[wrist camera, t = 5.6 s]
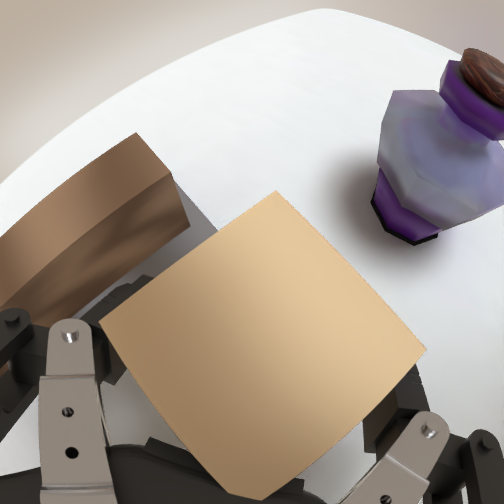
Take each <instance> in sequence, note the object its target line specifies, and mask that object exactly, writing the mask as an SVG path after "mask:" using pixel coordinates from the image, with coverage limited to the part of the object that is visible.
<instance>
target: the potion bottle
mask: <svg viewBox="0 0 504 504" xmlns="http://www.w3.org/2000/svg"><path fill="white" fill-rule="evenodd" d="M498 140H504V64H503V63H502V62H500V61H499V60H498V59H496V58H494V57H492V56H490V55H489V54H487V53H485V52H482V51H480V50H478V49H473V48H468V49H465V50H464V53H463V56H462V59H461V61H454V60H449V61H448V63H447V65H446V68H445V70H444V72H443V74H442V77H441V79H440V89H439V93H438V92H437V91H435V90H395V91H393V93H392V96H391V99H390V102H389V104H388V107H387V110H386V112H385V115H384V118H383V121H382V125H381V134H380V142H379V150H378V157H377V163H378V165H379V166H380V168H379V174H378V180H377V186H376V189H375V191H374V194H373V197H372V199H371V204H372V206H373V208H374V210H375V212H376V214H377V216H378V218H379V220H380V222H381V224H382V226H383V228H384V230H385V231H386V232H388V233H390V234H392V235H394V236H396V237H398V238H400V239H402V240H404V241H406V242H407V243H409V244H411V245H413V246H415V245H418V244H421V243H423V242H426V241H429V240H432V239H435V238H437V237H438V233H439V232H441V231H444V230H447V229H449V228H452V227H455V226H457V225H460V224H463V223H466V222H469V221H472V220H474V219H476V218H478V217H480V216H482V215H484V214H486V213H488V212H490V211H492V210H494V209H496V208H498V207H500V206H502V205H504V149H503V147H502V146H501V144H500V143H499V142H498Z"/></svg>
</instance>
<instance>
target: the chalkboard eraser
mask: <svg viewBox="0 0 504 504" xmlns="http://www.w3.org/2000/svg"><path fill="white" fill-rule="evenodd" d="M217 232H218V230H217V229H216V228H215V227H214V226H213V225H212V224H211V222H210V221H209V220H208V219H207V218H206V217H205V216H204V214H203V213H202V212H201V211H200V210H199V209H198V207H197V206H196V205H195V204H194V203H193V202H192V201H191V199H190V198H189V197H188V196H187V195H186V194H185V192H184V191H183V190H182V189H181V188H180V187H179V186H178V184H177V183H176V182H175V181H174V179H173V177H172V174H171V172H170V170H169V169H168V168H167V167H166V166H165V165H164V164H163V162H162V161H161V160H160V159H159V158H158V157H157V156H156V154H155V153H154V152H153V151H152V150H151V149H150V147H149V146H148V145H147V144H146V143H145V142H144V141H143V139H142V138H141V137H140V136H139V135H138V134H137V133H134V134H132V135H131V136H129V137H128V138H126V139H125V140H123V141H122V142H120V143H118V144H117V145H115V146H114V147H112V148H111V149H109V150H108V151H106V152H105V153H104V154H102V155H101V156H99V157H98V158H96V159H95V160H94V161H92V162H91V163H89V164H88V165H87V166H85V167H84V168H82V169H81V170H80V171H78V172H77V173H76V174H74V175H73V176H72V177H70V178H69V179H68V180H66V181H65V182H64V183H63V184H61V185H60V186H59V187H57V188H56V189H55V190H54V191H52V192H51V193H50V194H49V195H48V196H46V197H45V198H44V199H43V200H42V201H40V202H39V203H38V204H37V205H36V206H34V207H33V208H32V209H31V210H30V211H29V212H28V213H26V214H25V215H24V216H23V217H22V218H21V219H20V220H19V221H17V222H16V223H15V224H14V225H13V226H12V227H11V228H10V229H9V230H8V231H7V232H6V233H5V234H4V235H2V236H1V237H0V312H2V311H4V310H6V309H10V308H21V309H24V310H26V311H27V312H28V313H29V314H30V316H31V321H32V324H35V325H39V326H44V327H49V328H51V327H52V325H54V324H55V323H56V322H58V321H60V320H63V319H70V318H73V319H79V318H80V317H82V316H83V315H84V314H85V313H86V312H87V311H88V310H90V309H91V308H92V307H93V306H94V305H95V304H97V303H98V302H99V301H100V302H101V299H103V298H104V297H105V296H107V295H108V293H110V292H111V291H112V290H113V289H114V288H116V287H118V286H121V285H123V284H126V283H130V284H132V283H133V282H134V281H135V280H137V279H138V278H139V277H140V276H141V275H143V274H145V275H148V276H151V277H154V278H156V277H157V276H158V275H160V274H161V273H162V272H164V271H165V270H166V269H168V268H169V267H170V266H172V265H173V264H174V263H176V262H177V261H178V260H180V259H181V258H182V257H184V256H185V255H186V254H188V253H189V252H191V251H192V250H193V249H195V248H196V247H197V246H199V245H200V244H201V243H203V242H204V241H206V240H207V239H208V238H210V237H211V236H212V235H214V234H215V233H217ZM8 369H9V367H8V364H7V363H6V364H5V365H4V366H3V367H2V368H1V369H0V378H1V377H2V376H3V375H4V373H5V372H6V371H7V370H8Z"/></svg>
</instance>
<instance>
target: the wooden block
mask: <svg viewBox="0 0 504 504" xmlns="http://www.w3.org/2000/svg"><path fill="white" fill-rule="evenodd" d="M99 323H100V325H101V327H102V328H103V330H104V332H105V333H106V335H107V337H108V338H109V340H110V342H111V343H112V345H113V347H114V348H115V350H116V352H117V353H118V355H119V356H120V358H121V359H122V361H123V363H124V364H125V366H126V367H127V369H128V370H129V372H130V373H131V375H132V376H133V378H134V379H135V381H136V382H137V383H138V385H139V386H140V388H141V389H142V391H143V392H144V393H145V395H146V396H147V398H148V399H149V400H150V402H151V403H152V404H153V406H154V407H155V408H156V410H157V411H158V412H159V414H160V415H161V416H162V418H163V419H164V420H165V422H166V423H167V424H168V425H169V427H170V428H171V429H172V430H173V432H174V433H175V434H176V435H177V437H178V438H179V439H180V440H181V442H182V443H183V444H184V445H185V446H186V447H187V449H188V450H189V451H190V452H191V453H192V454H193V456H194V457H195V458H196V459H197V460H198V461H199V462H200V464H201V465H202V466H203V467H204V468H205V469H206V470H207V471H208V472H209V473H210V474H211V476H212V477H213V478H214V479H215V480H216V481H217V482H218V483H219V484H220V485H221V486H222V487H223V488H224V489H225V490H226V491H227V492H228V493H230V494H234V495H238V496H242V497H247V498H251V499H256V500H260V501H262V500H263V499H265V498H266V497H268V496H269V495H271V494H272V493H274V492H275V491H276V490H278V489H279V488H281V487H282V486H283V485H285V484H286V483H288V482H289V481H290V480H292V479H293V478H294V477H296V476H297V475H298V474H300V473H301V472H302V471H304V470H305V469H306V468H307V467H309V466H310V465H311V464H313V463H314V462H315V461H316V460H317V459H319V458H320V457H321V456H322V455H324V454H325V453H326V452H327V451H328V450H329V449H331V448H332V447H333V446H334V445H335V444H336V443H338V442H339V441H340V440H341V439H342V438H343V437H344V436H345V435H347V434H348V433H349V432H350V431H351V430H352V429H353V428H354V427H355V426H356V425H357V424H358V423H359V422H360V421H362V420H363V419H364V418H365V417H366V416H367V415H368V414H369V413H370V412H371V411H372V410H373V409H374V408H375V407H376V406H377V405H378V404H379V403H380V402H381V401H382V400H383V399H384V397H385V396H386V395H387V394H388V393H389V392H390V391H391V390H392V389H393V388H394V387H395V386H396V385H397V383H398V382H399V381H400V380H401V379H402V378H403V377H404V376H405V374H406V373H407V372H408V371H409V370H410V369H411V368H412V366H413V365H414V364H415V363H416V362H417V360H418V359H419V358H420V357H421V356H422V354H423V353H424V352H425V351H426V348H425V347H424V346H423V345H422V343H421V342H420V341H419V340H418V339H417V338H416V336H415V335H414V334H413V333H412V332H411V331H410V330H409V328H408V327H407V326H406V325H405V324H404V323H403V322H402V320H401V319H400V318H399V317H398V316H397V315H396V314H395V313H394V311H393V310H392V309H391V308H390V307H389V306H388V305H387V304H386V303H385V302H384V300H383V299H382V298H381V297H380V296H379V295H378V294H377V293H376V292H375V291H374V289H373V288H372V287H371V286H370V285H369V284H368V283H367V282H366V281H365V280H364V279H363V278H362V277H361V276H360V274H359V273H358V272H357V271H356V270H355V269H354V268H353V267H352V266H351V265H350V264H349V263H348V262H347V261H346V260H345V259H344V258H343V257H342V256H341V255H340V253H339V252H338V251H337V250H336V249H335V248H334V247H333V246H332V245H331V244H330V243H329V242H328V241H327V240H326V239H325V238H324V237H323V236H322V235H321V234H320V233H319V232H318V231H317V230H316V229H315V228H314V227H313V226H312V225H311V224H310V223H309V222H308V221H307V220H306V219H305V218H304V217H303V216H302V215H301V214H300V213H299V212H298V211H297V210H296V209H295V208H294V207H293V206H292V205H291V204H290V203H289V202H288V201H287V200H285V199H284V198H283V197H282V196H281V195H280V194H279V193H278V192H277V191H274V192H273V193H272V194H270V195H269V196H267V197H266V198H264V199H263V200H261V201H260V202H259V203H257V204H256V205H254V206H253V207H252V208H250V209H249V210H247V211H246V212H244V213H243V214H242V215H240V216H239V217H237V218H236V219H235V220H233V221H232V222H230V223H229V224H228V225H226V226H225V227H223V228H222V229H221V230H219V231H218V232H217V233H215V234H214V235H212V236H211V237H210V238H208V239H207V240H206V241H204V242H203V243H201V244H200V245H199V246H197V247H196V248H195V249H193V250H192V251H191V252H189V253H188V254H186V255H185V256H184V257H182V258H181V259H180V260H178V261H177V262H176V263H174V264H173V265H172V266H170V267H169V268H168V269H166V270H165V271H164V272H162V273H161V274H160V275H158V276H157V277H156V278H154V279H153V280H152V281H150V282H149V283H148V284H146V285H145V286H144V287H142V288H141V289H140V290H139V291H137V292H136V293H135V294H133V295H132V296H131V297H129V298H128V299H127V300H126V301H124V302H123V303H122V304H120V305H119V306H118V307H117V308H115V309H114V310H113V311H111V312H110V313H109V314H108V315H106V316H105V317H104V318H102V319H101V320H100V321H99Z"/></svg>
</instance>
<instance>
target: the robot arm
mask: <svg viewBox="0 0 504 504" xmlns="http://www.w3.org/2000/svg"><path fill="white" fill-rule="evenodd" d="M153 279H154V277H151V276H148V275H145V274H143V275H141V276H140V277H139V278H138V279H137V280H135V281H134V282H133V283H132V284H130V283H126V284H123V285H121V286H118V287H116V288H114V289H113V290H112V291H111V292H110V293H108V295H107V296H105V297H104V298H103V299H101V302H100V301H99V302H98V303H97V304H95V305H94V306H93V307H92V308H91V309H90V310H88V311H87V312H86V313H85V314H84V315H83V316H82V317H80V318H79V319H73V318H70V319H63V320H60V321H58V322H56V323H55V324H54V325H52V327H51V328H49V327H44V326H39V325H35V324H32V321H31V316H30V314H29V313H28V312H27V311H26V310H24V309H21V308H10V309H6V310H4V311H2V312H0V369H1V368H2V367H3V366H4V365H5V364H6V363H7V364H8V367H9V369H8V370H7V371H6V372H5V373H4V375H3V376H2V377H1V378H0V442H1V441H2V440H3V438H4V437H5V436H6V435H7V433H8V432H9V431H10V429H11V428H12V427H13V425H14V424H15V423H16V422H17V420H18V419H19V418H20V417H21V415H22V414H23V413H24V411H25V410H26V409H27V408H28V407H29V405H30V404H31V403H32V402H33V400H34V399H35V398H36V397H37V395H38V394H39V449H40V463H41V467H38V468H34V469H30V470H26V471H22V472H17V473H13V474H8V475H4V476H0V504H327V503H326V502H324V501H323V500H322V499H320V498H319V497H317V496H315V495H313V494H311V493H309V492H307V491H305V490H303V487H304V479H298V478H293V479H292V480H290V481H289V482H288V483H286V484H285V485H283V486H282V487H281V488H279V489H278V490H276V491H275V492H274V493H272V494H271V495H269V496H268V497H266V498H265V499H263V500H262V501H260V500H256V499H251V498H247V497H242V496H238V495H234V494H230V493H228V492H227V491H226V490H225V489H224V488H223V487H222V486H221V485H220V484H219V483H218V482H217V481H216V480H215V479H214V478H213V477H212V476H211V474H210V473H209V472H208V471H207V470H206V469H205V468H204V467H203V466H202V465H201V464H200V462H199V461H198V460H197V459H196V458H195V457H194V456H193V454H191V453H190V452H188V451H186V450H184V449H181V448H178V447H175V446H172V445H170V444H167V443H164V442H162V441H159V440H157V439H154V438H151V437H150V438H149V439H148V441H147V443H146V445H145V446H143V445H133V444H122V445H113V446H112V445H111V441H110V437H109V433H108V428H107V423H106V417H105V411H104V405H103V399H102V392H101V387H100V384H101V383H102V382H103V381H105V382H107V383H110V384H112V385H115V384H116V383H117V381H118V380H119V379H120V377H121V376H122V375H123V373H124V372H125V371H126V369H127V367H126V366H125V364H124V363H123V361H122V359H121V358H120V356H119V355H118V353H117V352H116V350H115V348H114V347H113V345H112V343H111V342H110V340H109V338H108V337H107V335H106V333H105V332H104V330H103V328H102V327H101V325H100V323H99V321H100V320H101V319H102V318H104V317H105V316H106V315H108V314H109V313H110V312H111V311H113V310H114V309H115V308H117V307H118V306H119V305H120V304H122V303H123V302H124V301H126V300H127V299H128V298H129V297H131V296H132V295H133V294H135V293H136V292H137V291H139V290H140V289H141V288H142V287H144V286H145V285H146V284H148V283H149V282H150V281H152V280H153ZM421 383H422V382H421V378H420V376H419V372H418V369H417V366H416V364H414V365H413V366H412V368H411V369H410V370H409V371H408V372H407V373H406V374H405V376H404V377H403V378H402V379H401V380H400V381H399V382H398V383H397V385H396V386H395V387H394V388H393V389H392V390H391V391H390V392H389V393H388V394H387V395H386V396H385V397H384V399H383V400H382V401H381V402H380V403H379V404H378V405H377V406H376V407H375V408H374V409H373V410H372V411H371V412H370V413H369V414H368V415H367V416H366V417H365V418H364V419H363V435H364V452H366V453H376V462H375V463H374V465H373V466H372V467H371V468H370V469H369V470H368V471H367V473H366V474H365V475H364V476H363V477H362V478H361V479H360V480H359V481H358V482H357V483H356V485H355V486H354V487H353V488H352V489H351V490H350V491H349V492H348V493H347V494H346V495H345V496H344V497H343V498H342V499H341V500H340V501H339V502H338V503H337V504H418V502H419V501H420V499H421V497H422V496H423V504H463V499H462V492H461V489H463V488H464V487H465V486H466V489H467V496H468V504H504V458H503V454H502V451H501V448H500V444H499V442H498V440H497V439H496V437H495V436H494V435H493V434H491V433H490V432H488V431H486V430H482V429H479V430H475V431H474V432H473V433H472V434H471V435H470V436H469V437H468V438H467V439H466V438H463V437H460V436H457V435H454V434H451V433H450V431H449V427H448V425H447V423H446V422H445V421H444V419H442V418H441V417H440V416H439V415H437V414H435V413H432V412H430V409H429V405H428V402H427V398H426V395H425V391H424V388H423V385H422V384H421Z"/></svg>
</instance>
